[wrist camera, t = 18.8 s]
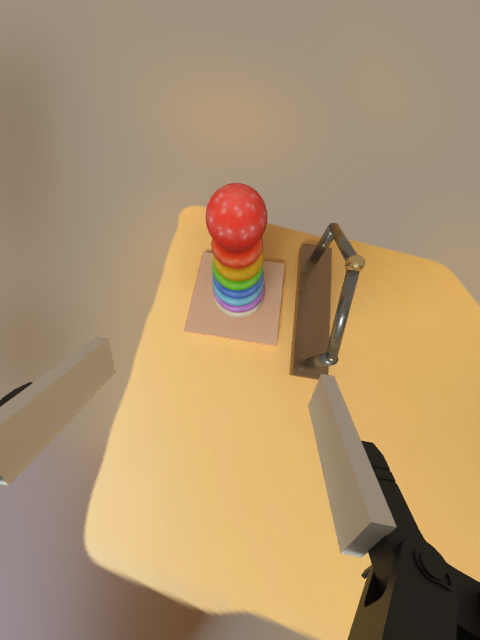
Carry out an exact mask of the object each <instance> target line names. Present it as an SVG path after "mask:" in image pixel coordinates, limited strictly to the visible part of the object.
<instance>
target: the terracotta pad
mask: <svg viewBox="0 0 480 640" xmlns="http://www.w3.org/2000/svg"><path fill="white" fill-rule="evenodd" d="M212 262H213V253H209V252H203V254H202V258H201V262H200V267H199V271H198V275H197V279H196V283H195V287H194V291H193V295H192V299H191V304H190V308H189V312H188V316H187V320H186V324H185V328H184V331H185V332H188V333H194V334H201V335H207V336H213V337H220V338H226V339H232V340H239V341H245V342H252V343H258V344H264V345H271V346H276V345H277V336H278V326H279V316H280V307H281V297H282V287H283V277H284V268H285V264H284V263H277V262H270V261H264V260H263V272H264V277H263V278H264V284H265V293H264V300H263V303H262V305H261V306H260V308H259V309H258V310H257V311H256V312H255V313H253V314H252V315H250V316H248V317H244V318H234V317H230V316H227V315H225V314H224V313H222V312H221V311H220V310H219V309H218V308H217V306H216V305H215V302H214V300H213V285H212V278H213V274H212V273H213V271H212Z"/></svg>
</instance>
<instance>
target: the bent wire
mask: <svg viewBox="0 0 480 640" xmlns="http://www.w3.org/2000/svg"><path fill="white" fill-rule="evenodd" d="M333 239H334V240H335V242H336V244H337V246H338V248H339V249H340V251H341V253H342V255H343V257H344V259H345V261H346V262H345V268H346V270H347V271H346V275H345V279H344V283H343V287H342V291H341V295H340V299H339V303H338V307H337V311H336V315H335V319H334V323H333V328H332V332H331V336H330V340H329V324H330V286H331V248H328V246H329V245H330V244H331V242H332V241H333ZM364 266H365V260H364V258H363V257H362V256H360V255H357V254H356V252H355V251H354V249H353V247H352V246H351V244H350V243H349V241H348V240H347V238H346V236H345V235H344V233H343V232H342V230H341V229H340V227H339V225H338V224H337V223H331V224H330V225H329V226H328V227H327V229H326V231H325V233H324V234H323V236H322V238H321V239H320V241H319V243H318V244H317V246H315V245H308V244H302V246H301V248H300V252H299V265H298V277H297V290H296V302H295V315H294V327H293V340H292V352H291V365H290V375H292V376H298V377H304V378H310V379H317V380H319V377H320V375H321V374H325V375H328V366H330V365H334V364H336V363H337V362H338V353H339V349H340V345H341V341H342V337H343V334H344V330H345V326H346V322H347V318H348V314H349V310H350V307H351V303H352V299H353V295H354V291H355V287H356V283H357V280H358V276H359V272H360V271H361V270H362V269H363V268H364Z"/></svg>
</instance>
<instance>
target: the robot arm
mask: <svg viewBox="0 0 480 640" xmlns="http://www.w3.org/2000/svg"><path fill="white" fill-rule="evenodd" d="M115 373H116V371H115V367H114V362H113V358H112V353H111V349H110V344H109V339H107V338H100V337H96V338H94V339H93V340H92V341H90V342H89V343H87V344H86V345H85V346H83V347H82V348H81V349H79V350H78V351H76V352H75V353H74V354H72V355H71V356H70V357H68V358H67V359H66V360H64V361H63V362H61V363H60V364H59V365H57V366H56V367H54V368H53V369H52V370H50V371H49V372H48V373H46V374H45V375H43V376H42V377H41V378H39V379H38V380H37V381H35V382H34V383H31V382H29V383H27V384H26V385H23V386H21V387H19V388H17V389H15V390H13V391H12V392H10V393H9V394H7V395H6V396H5V397H3V398H2V400H0V484H4V485H10V484H11V482H12V481H13V480H14V479H15V478H16V477H17V476H18V475H19V474H20V473H21V472H22V471H23V470H24V469H25V468H26V467H27V466H28V465H29V463H31V461H32V460H33V459H34V458H35V457H36V456H37V455H38V454H39V453H40V452H41V451H42V450H43V449H44V448H45V447H46V446H47V445H48V444H49V442H50V441H51V440H52V439H53V438H54V437H55V436H56V435H57V434H58V433H59V432H60V431H61V430H62V429H63V428H64V426H66V424H67V423H68V422H69V421H70V420H71V419H72V418H73V417H74V416H75V415H76V414H77V413H78V412H79V411H80V410H81V409H82V408H83V407H84V405H85V404H86V403H87V402H88V401H89V400H90V399H91V398H92V397H93V396H94V395H95V394H96V393H97V392H98V391H99V390H100V389H101V387H102V386H103V385H104V384H105V383H106V382H107V381H108V380H109V379H110V378H111V377H112V376H113V375H114V374H115ZM308 406H309V411H310V415H311V420H312V425H313V429H314V434H315V438H316V443H317V447H318V452H319V457H320V461H321V466H322V470H323V475H324V480H325V484H326V489H327V493H328V498H329V502H330V507H331V512H332V516H333V521H334V525H335V530H336V534H337V539H338V544H339V548H340V553H341V554H346V555H351V556H356V557H361V558H362V557H363V556H364V555H365V554H366V553H369V556H370V559H371V563H372V565H371V566H370V567H368V568H367V569H366V570H365V571H364V572H363V574H362V575H361V576H362V577H363V578H364V579H365V578H366V577H367V579H366V582H365V586H364V589H363V592H362V595H361V598H360V602H359V605H358V608H357V611H356V615H355V618H354V621H353V624H352V627H351V631H350V634H349V637H348V640H480V582H478V581H476V580H474V579H473V578H471V577H469V576H467V575H466V574H464V573H462V572H460V571H459V570H457V569H455V568H454V567H452V566H451V565H449V564H448V563H446V561H445V560H444V558H443V557H442V556H441V555H440V554H439V552H438V551H437V550H436V549H435V548H434V547H433V546H432V545H430V544H429V543H427V542H426V540H425V539H424V538H423V536H422V534H421V532H420V530H419V529H418V526H417V524H416V522H415V520H414V518H413V516H412V514H411V512H410V510H409V508H408V506H407V504H406V502H405V500H404V497H403V495H402V493H401V491H400V489H399V487H398V485H397V484H396V483H395V479H394V477H393V475H392V473H391V472H390V469H389V466H388V464H387V462H386V460H385V458H384V456H383V455H382V453H381V452H380V451H379V450H378V448H377V447H376V446H375V445H374V444H373V443H371V442H365V441H361V440H360V437H359V435H358V433H357V430H356V428H355V425H354V423H353V421H352V418H351V416H350V413H349V411H348V408H347V406H346V404H345V401H344V399H343V396H342V394H341V392H340V389H339V387H338V384H337V382H336V380H335V377H334V376H331V375H325V374H321V375H320V377H319V380H318V383H317V385H316V388H315V390H314V393H313V395H312V398H311V400H310V403H309V405H308Z"/></svg>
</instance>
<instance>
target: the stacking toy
mask: <svg viewBox="0 0 480 640" xmlns="http://www.w3.org/2000/svg"><path fill="white" fill-rule="evenodd" d="M206 224H207V228H208V231H209V233H210V235H211V237H212V243H211V246H212V251H213V262H212V271H213V273H212V274H213V278H212V285H213V300H214V302H215V305H216V306H217V308H218V309H219V310H220V311H221V312H222V313H224V314H225V315H227V316H230V317H234V318H244V317H248V316H250V315H252V314H253V313H255V312H256V311H257V310H258V309H259V308H260V306H261V305H262V303H263V300H264V293H265V284H264V278H263V277H264V272H263V260H264V254H263V250H262V248H263V241H262V235H263V233H264V231H265V228H266V224H267V211H266V207H265V204H264V201H263V199H262V198H261V196H260V195H259V194H258V193H257V191H256V190H254V189H253V188H251V187H250V186H248V185H245V184H241V183H231V184H228V185H225V186H223V187H221V188H220V189H218V190H217V191H216V192H215V193H214V194H213V196H212V197H211V199H210V201H209V203H208V206H207V210H206Z"/></svg>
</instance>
